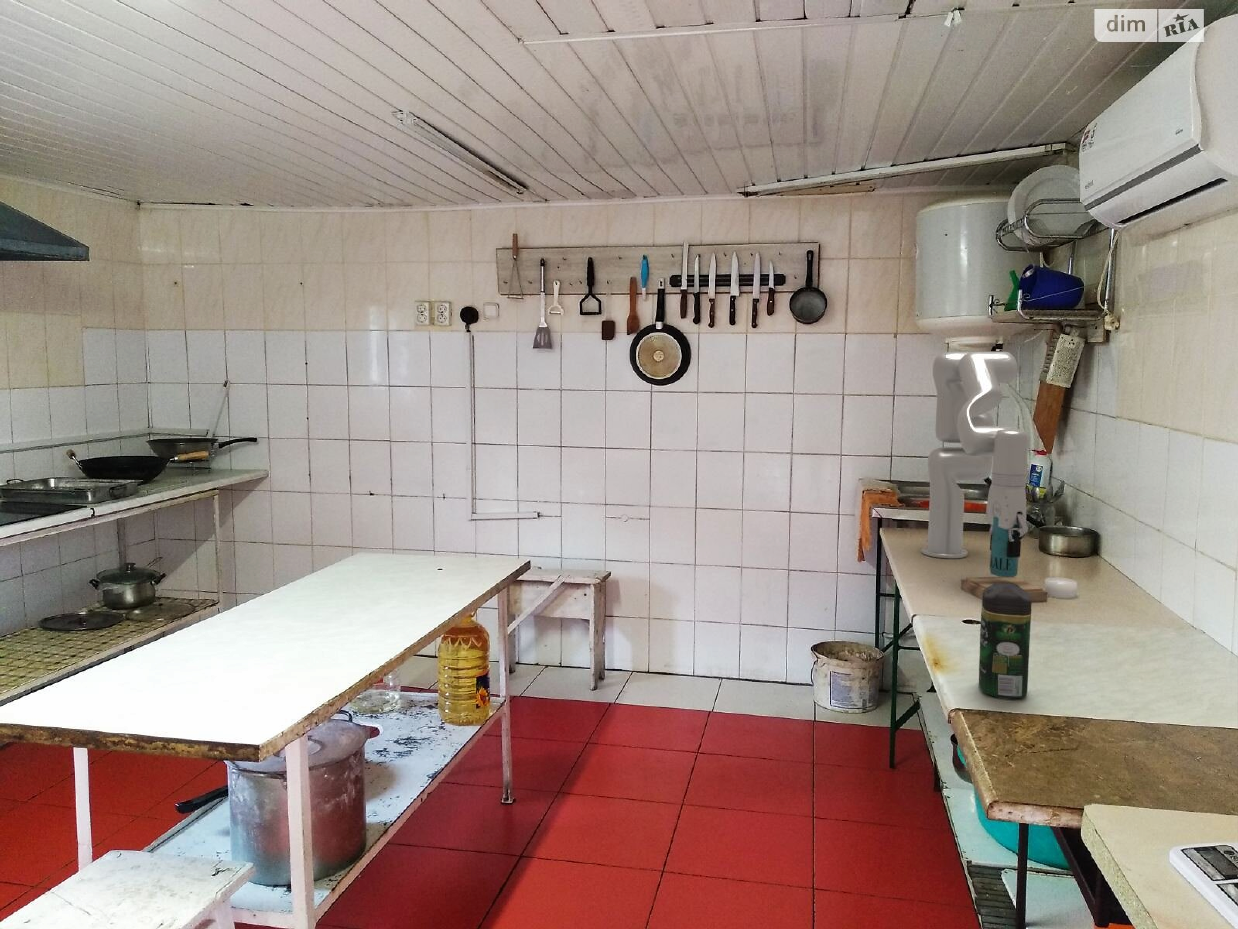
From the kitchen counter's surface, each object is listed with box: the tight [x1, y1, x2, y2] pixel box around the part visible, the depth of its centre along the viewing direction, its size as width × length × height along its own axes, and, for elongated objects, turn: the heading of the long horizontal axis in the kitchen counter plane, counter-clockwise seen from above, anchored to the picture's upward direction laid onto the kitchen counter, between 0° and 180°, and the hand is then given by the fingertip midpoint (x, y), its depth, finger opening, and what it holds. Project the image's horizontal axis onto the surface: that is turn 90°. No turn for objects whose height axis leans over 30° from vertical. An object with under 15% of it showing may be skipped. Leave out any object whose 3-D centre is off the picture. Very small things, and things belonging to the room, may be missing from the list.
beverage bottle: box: [989, 516, 1020, 577], centre depth 214 cm, size 6×7×20 cm
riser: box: [960, 576, 1048, 603], centre depth 216 cm, size 14×14×3 cm
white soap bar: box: [1044, 576, 1078, 600], centre depth 216 cm, size 7×7×4 cm
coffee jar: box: [978, 583, 1033, 700], centre depth 153 cm, size 10×8×19 cm
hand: (1004, 553), depth 215 cm, fingers closed on beverage bottle, 6 cm apart
